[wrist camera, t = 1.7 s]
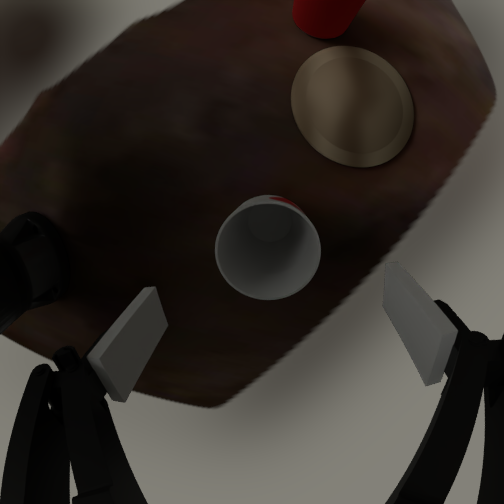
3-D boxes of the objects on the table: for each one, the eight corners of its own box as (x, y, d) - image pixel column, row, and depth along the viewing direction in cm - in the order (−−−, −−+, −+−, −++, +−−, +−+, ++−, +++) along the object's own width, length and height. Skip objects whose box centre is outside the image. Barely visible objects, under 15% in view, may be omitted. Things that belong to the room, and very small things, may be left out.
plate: (300, 171, 28) (301, 172, 27) (281, 50, 24) (281, 47, 23) (416, 164, 27) (420, 165, 26) (398, 52, 22) (401, 49, 21)
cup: (319, 231, 30) (339, 267, 21) (260, 268, 33) (254, 315, 23) (279, 170, 28) (282, 179, 19) (218, 211, 31) (194, 240, 21)
